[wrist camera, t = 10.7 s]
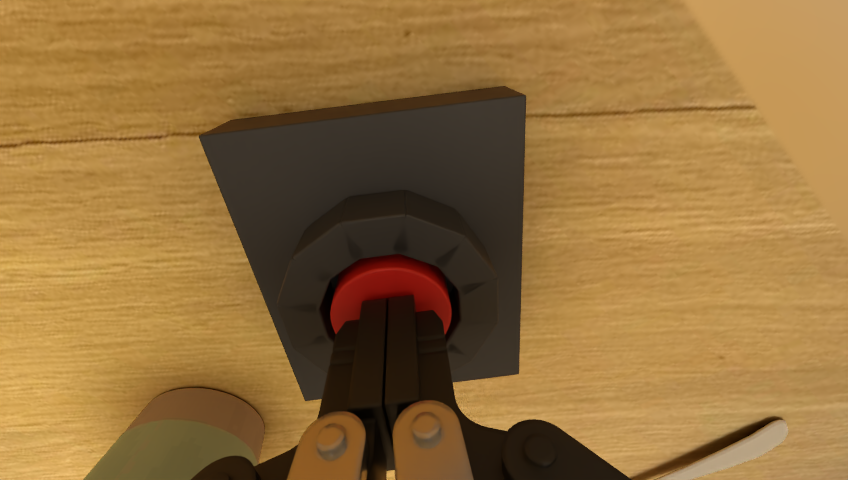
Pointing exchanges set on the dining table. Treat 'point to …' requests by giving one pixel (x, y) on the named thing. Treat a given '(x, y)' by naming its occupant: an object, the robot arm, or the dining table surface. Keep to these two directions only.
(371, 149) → the button block
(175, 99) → the dining table surface
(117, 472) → the coffee cup
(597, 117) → the dining table surface
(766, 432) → the fork
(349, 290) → the button
